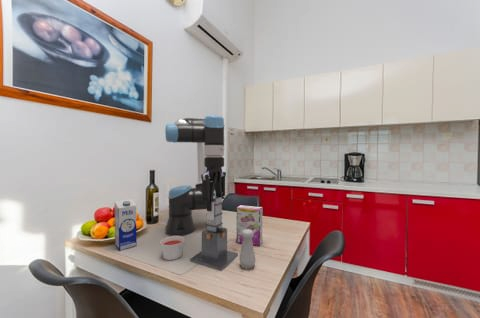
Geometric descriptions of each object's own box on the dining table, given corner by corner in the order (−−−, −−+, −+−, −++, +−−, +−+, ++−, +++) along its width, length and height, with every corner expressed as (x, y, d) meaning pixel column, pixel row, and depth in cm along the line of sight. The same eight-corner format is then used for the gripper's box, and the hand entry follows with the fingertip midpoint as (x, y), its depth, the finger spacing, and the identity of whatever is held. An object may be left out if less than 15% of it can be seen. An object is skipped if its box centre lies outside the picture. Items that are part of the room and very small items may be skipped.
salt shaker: (238, 262, 76) (238, 227, 75) (254, 261, 76) (254, 227, 76) (240, 271, 70) (240, 233, 70) (256, 270, 70) (256, 233, 70)
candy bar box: (236, 243, 92) (235, 207, 92) (239, 239, 97) (239, 204, 96) (260, 247, 88) (260, 209, 88) (262, 242, 93) (262, 206, 93)
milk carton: (132, 241, 94) (131, 198, 94) (137, 245, 89) (136, 200, 89) (114, 246, 89) (114, 200, 89) (118, 251, 84) (118, 203, 84)
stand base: (190, 261, 76) (189, 229, 76) (209, 248, 87) (209, 220, 87) (221, 271, 70) (221, 235, 70) (237, 255, 80) (237, 225, 80)
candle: (165, 250, 85) (165, 235, 85) (187, 250, 85) (187, 235, 85) (156, 261, 76) (156, 245, 76) (180, 262, 76) (180, 245, 76)
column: (206, 255, 77) (206, 198, 77) (213, 250, 81) (213, 195, 81) (216, 258, 75) (216, 199, 75) (222, 253, 79) (222, 197, 79)
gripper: (208, 156, 68) (208, 225, 69) (234, 156, 84) (234, 212, 84) (191, 156, 72) (191, 222, 72) (218, 156, 87) (218, 210, 88)
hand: (214, 217), depth 78 cm, fingers closed on column, 4 cm apart
